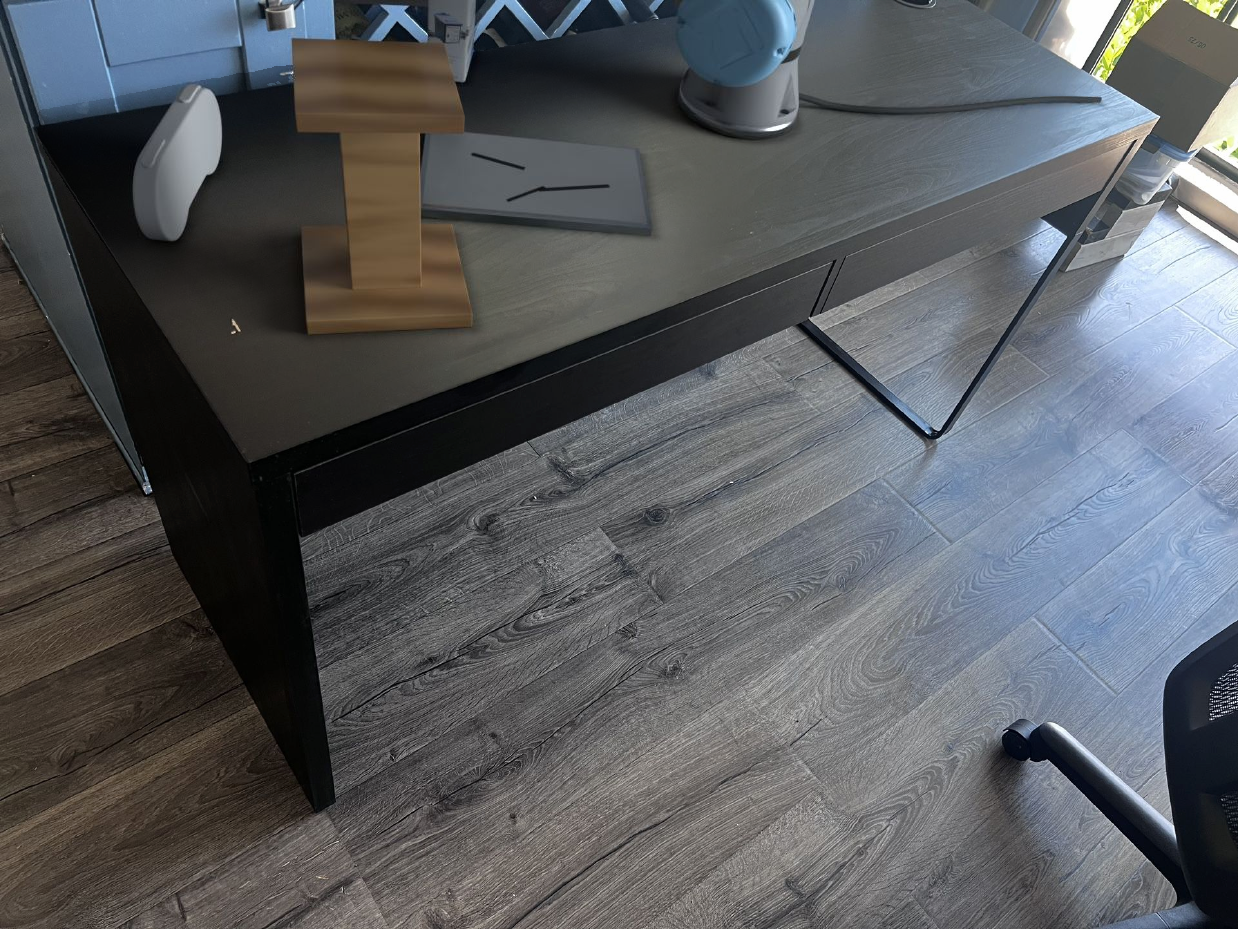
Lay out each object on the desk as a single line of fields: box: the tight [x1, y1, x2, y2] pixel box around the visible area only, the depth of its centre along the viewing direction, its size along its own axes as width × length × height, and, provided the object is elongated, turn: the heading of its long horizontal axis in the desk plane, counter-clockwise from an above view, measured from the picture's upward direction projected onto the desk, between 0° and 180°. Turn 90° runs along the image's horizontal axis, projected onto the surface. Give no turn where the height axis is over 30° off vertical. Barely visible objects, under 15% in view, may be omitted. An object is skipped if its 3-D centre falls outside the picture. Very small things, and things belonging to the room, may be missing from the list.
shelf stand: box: [291, 37, 473, 335], centre depth 79 cm, size 14×14×20 cm
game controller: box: [132, 83, 223, 242], centre depth 88 cm, size 20×2×8 cm, turn 1°
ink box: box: [426, 0, 477, 83], centre depth 113 cm, size 9×5×12 cm, turn 179°
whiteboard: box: [420, 131, 654, 237], centre depth 101 cm, size 24×16×1 cm, turn 94°
